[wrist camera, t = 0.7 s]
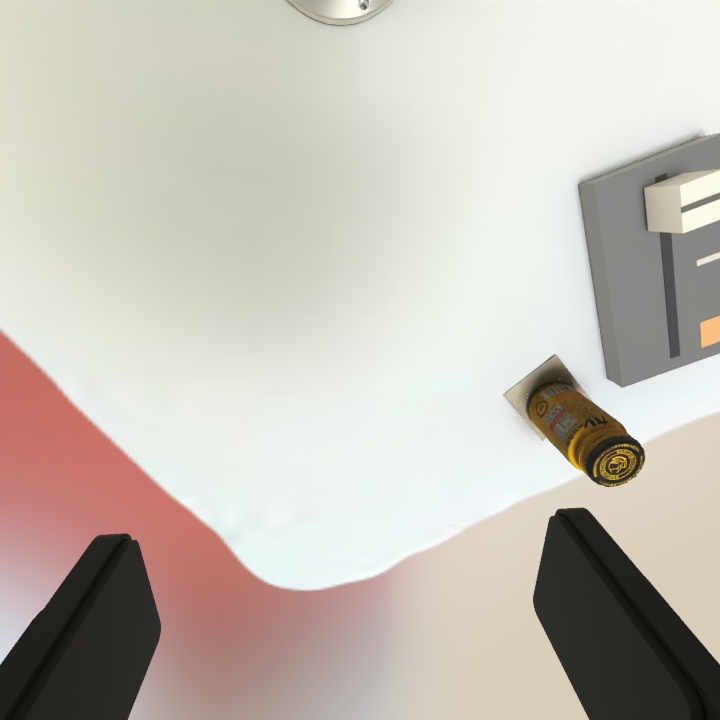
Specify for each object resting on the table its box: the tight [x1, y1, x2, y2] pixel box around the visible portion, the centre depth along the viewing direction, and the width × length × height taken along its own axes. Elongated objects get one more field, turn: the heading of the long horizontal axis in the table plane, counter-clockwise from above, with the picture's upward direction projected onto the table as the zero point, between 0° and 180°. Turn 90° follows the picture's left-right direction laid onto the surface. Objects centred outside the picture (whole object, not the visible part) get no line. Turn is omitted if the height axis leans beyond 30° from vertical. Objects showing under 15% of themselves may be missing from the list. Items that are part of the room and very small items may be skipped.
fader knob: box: [644, 169, 720, 233], centre depth 35 cm, size 4×4×4 cm
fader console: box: [578, 133, 720, 388], centre depth 41 cm, size 22×12×3 cm, turn 20°
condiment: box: [503, 355, 645, 487], centre depth 41 cm, size 7×8×12 cm
